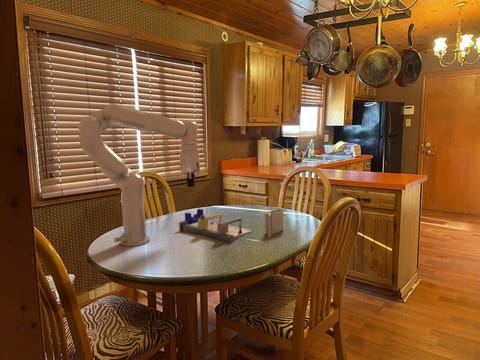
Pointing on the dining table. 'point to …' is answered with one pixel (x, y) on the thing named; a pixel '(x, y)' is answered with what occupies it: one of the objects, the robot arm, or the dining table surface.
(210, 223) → the bolt plate
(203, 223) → the sliding leg
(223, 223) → the fixed leg
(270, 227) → the hinge
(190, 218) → the cable clip
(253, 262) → the dining table surface
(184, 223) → the rail
